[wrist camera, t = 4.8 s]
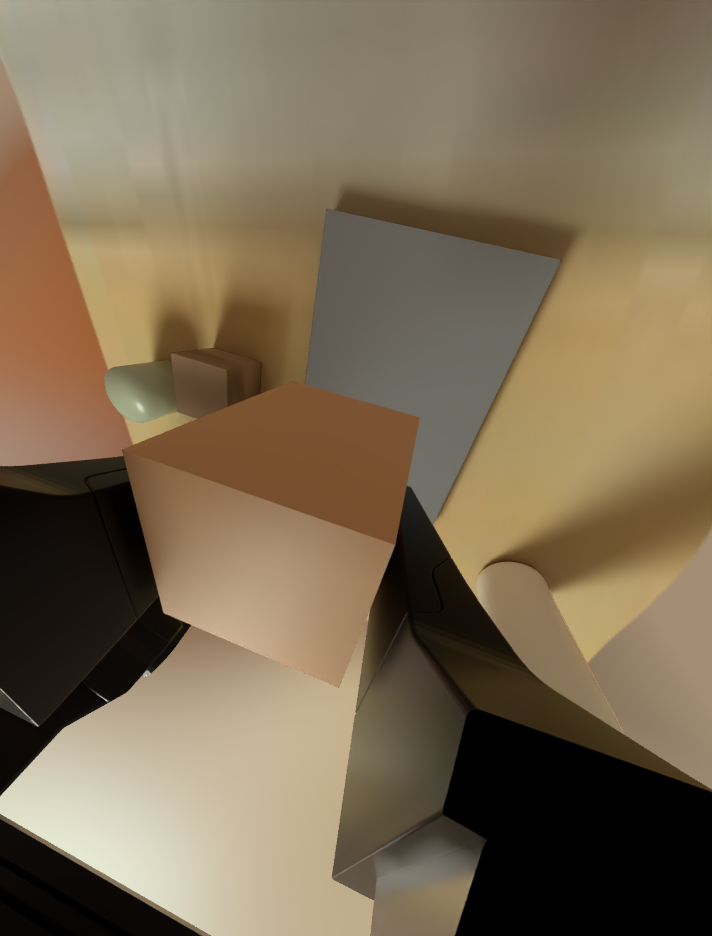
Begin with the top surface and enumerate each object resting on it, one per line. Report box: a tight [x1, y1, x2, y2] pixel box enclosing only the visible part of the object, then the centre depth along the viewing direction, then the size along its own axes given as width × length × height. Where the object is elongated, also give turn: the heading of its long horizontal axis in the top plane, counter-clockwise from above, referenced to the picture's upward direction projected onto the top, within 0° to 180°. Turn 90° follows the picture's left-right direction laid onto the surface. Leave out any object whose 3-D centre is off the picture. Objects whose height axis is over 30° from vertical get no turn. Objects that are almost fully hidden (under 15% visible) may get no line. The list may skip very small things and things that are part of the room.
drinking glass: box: [476, 562, 626, 736], centre depth 17 cm, size 7×7×15 cm
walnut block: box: [171, 348, 261, 419], centre depth 20 cm, size 4×4×4 cm
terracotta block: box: [122, 381, 420, 688], centre depth 8 cm, size 4×4×6 cm
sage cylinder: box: [105, 360, 178, 423], centre depth 22 cm, size 4×4×4 cm
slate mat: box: [305, 209, 561, 524], centre depth 19 cm, size 18×12×1 cm, turn 168°
